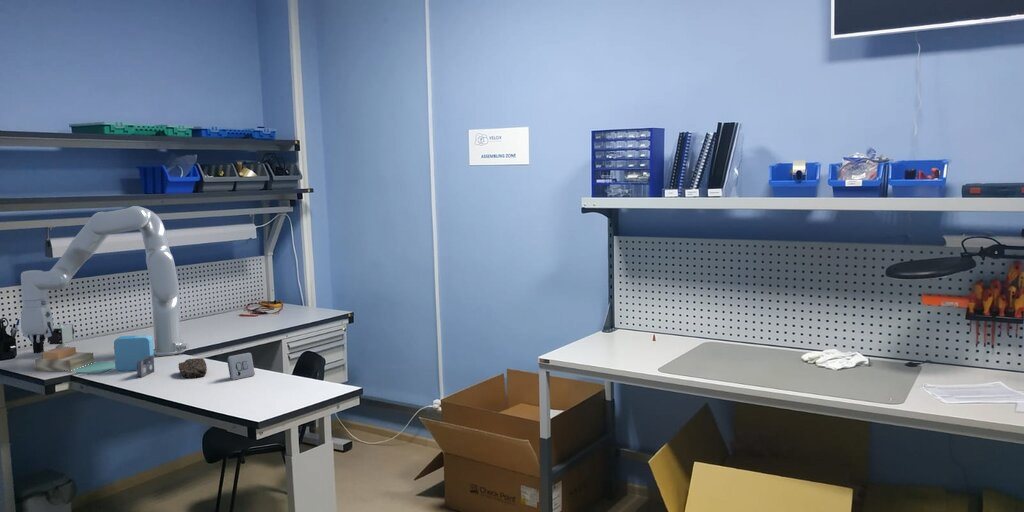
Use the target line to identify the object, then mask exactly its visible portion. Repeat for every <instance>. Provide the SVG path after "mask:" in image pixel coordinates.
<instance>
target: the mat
mask: <svg viewBox="0 0 1024 512" xmlns="http://www.w3.org/2000/svg"><path fill="white" fill-rule="evenodd" d="M113 369H116V368H115V361H101V360H100V361H99V360H98V361H94V363H92V364H89V365H86V366H84V367H81V368H78V369H75V370H72V371H69V373H70V372H76V373H75V374H77V373H78V374H102V373H105V372H108V371H110V370H113Z"/></svg>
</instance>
